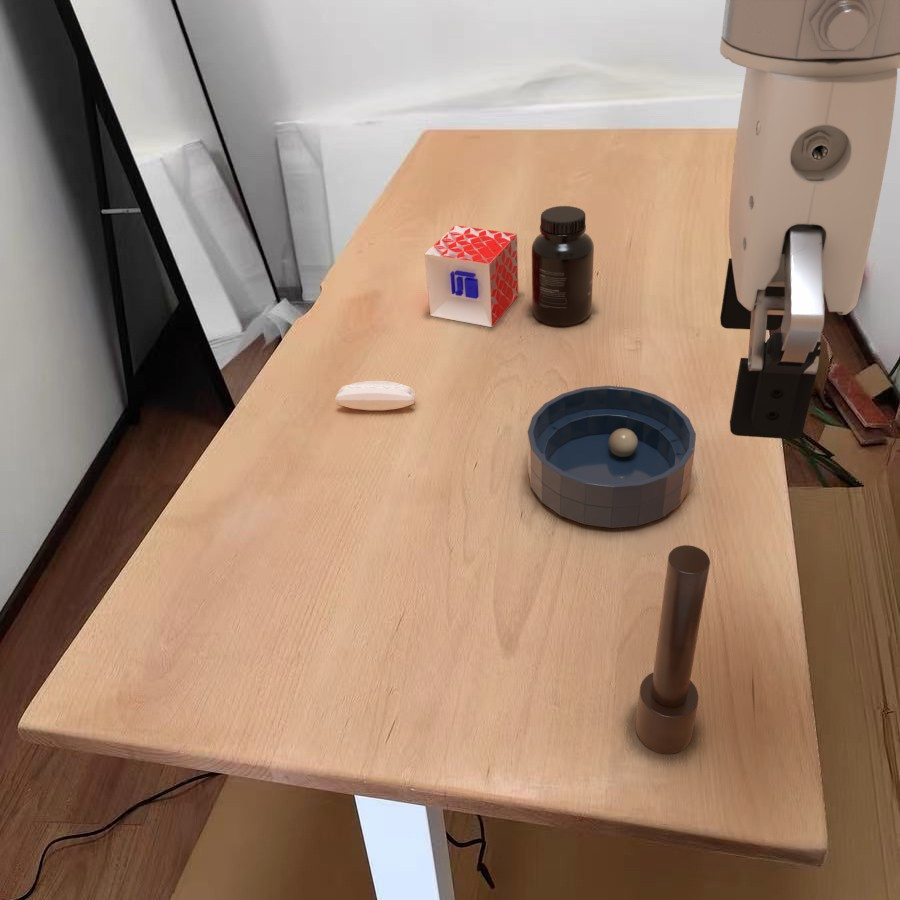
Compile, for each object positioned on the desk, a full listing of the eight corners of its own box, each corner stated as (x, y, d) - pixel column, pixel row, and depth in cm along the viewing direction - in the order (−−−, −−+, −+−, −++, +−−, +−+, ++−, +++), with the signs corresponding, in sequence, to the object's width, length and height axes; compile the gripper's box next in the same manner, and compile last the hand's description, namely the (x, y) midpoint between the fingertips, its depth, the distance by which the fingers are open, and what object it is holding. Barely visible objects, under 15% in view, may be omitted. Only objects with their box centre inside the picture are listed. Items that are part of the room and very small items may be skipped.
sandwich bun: (414, 415, 86) (411, 392, 84) (335, 415, 87) (331, 392, 85) (418, 397, 88) (415, 374, 87) (341, 397, 89) (337, 374, 88)
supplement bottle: (603, 315, 99) (608, 215, 91) (555, 334, 96) (556, 233, 89) (567, 292, 103) (569, 196, 96) (520, 310, 101) (518, 212, 94)
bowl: (712, 456, 78) (719, 412, 75) (650, 553, 69) (655, 507, 66) (572, 413, 84) (573, 371, 81) (500, 497, 76) (498, 453, 72)
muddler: (700, 721, 57) (733, 550, 47) (679, 763, 55) (709, 593, 45) (648, 697, 59) (670, 527, 49) (626, 738, 56) (644, 568, 46)
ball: (641, 450, 79) (643, 427, 77) (629, 466, 77) (631, 443, 75) (615, 441, 80) (616, 419, 78) (603, 457, 78) (604, 434, 77)
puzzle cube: (518, 295, 104) (517, 233, 99) (492, 327, 98) (489, 263, 93) (458, 285, 107) (454, 225, 102) (429, 315, 101) (423, 253, 96)
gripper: (993, 74, 26) (863, 493, 37) (885, -37, 40) (812, 296, 50) (737, 77, 28) (683, 479, 38) (715, -31, 41) (679, 292, 52)
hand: (756, 375), depth 44 cm, fingers open, 9 cm apart
